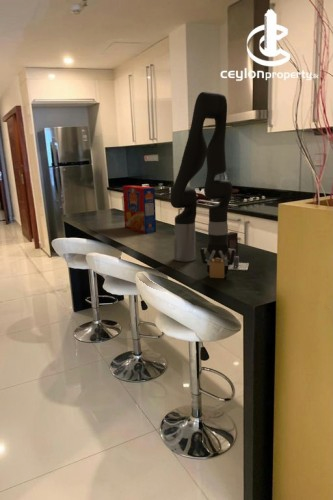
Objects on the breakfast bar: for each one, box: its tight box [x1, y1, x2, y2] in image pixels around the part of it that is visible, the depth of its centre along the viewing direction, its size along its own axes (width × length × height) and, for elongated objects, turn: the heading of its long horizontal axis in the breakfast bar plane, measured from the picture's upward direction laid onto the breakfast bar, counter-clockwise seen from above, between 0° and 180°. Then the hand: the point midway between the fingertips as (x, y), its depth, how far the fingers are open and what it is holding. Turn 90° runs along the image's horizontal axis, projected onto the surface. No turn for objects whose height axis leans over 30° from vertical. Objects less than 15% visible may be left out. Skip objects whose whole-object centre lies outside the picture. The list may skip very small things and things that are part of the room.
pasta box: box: [122, 184, 157, 235], centre depth 250 cm, size 28×8×28 cm, turn 32°
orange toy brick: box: [209, 258, 226, 279], centre depth 154 cm, size 6×6×7 cm
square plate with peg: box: [228, 255, 250, 272], centre depth 165 cm, size 10×10×4 cm
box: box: [226, 231, 239, 261], centre depth 178 cm, size 6×4×12 cm
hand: (217, 273), depth 154 cm, fingers closed on orange toy brick, 5 cm apart
